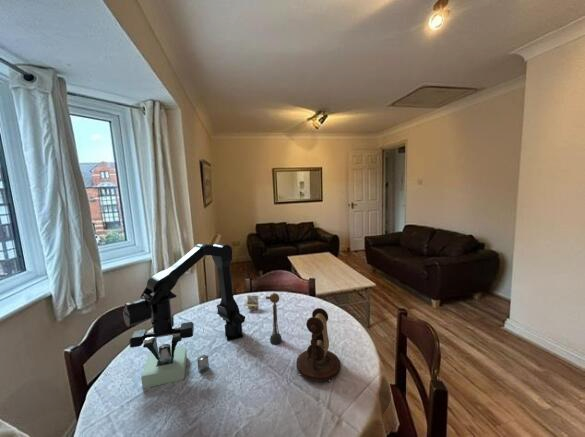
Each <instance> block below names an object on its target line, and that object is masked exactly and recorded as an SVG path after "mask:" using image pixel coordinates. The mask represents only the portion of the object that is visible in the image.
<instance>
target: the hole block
mask: <svg viewBox="0 0 585 437" xmlns="http://www.w3.org/2000/svg"><path fill="white" fill-rule="evenodd" d="M171 359H172V364H167V365H162V366H160V357H159V360H157V359H156V357H155V356H154V355H153V354H152V352H150V353H149V354H148V356H147V360H146V363H145V365H144V367H143V371H142V374H141V385H142V386H141V387H142V389H146V388H150V387H155V386H159V385H165V384H168V383H173V382H177V381H182V380H185V375H186V374H185V373H186V367H187V359H188V354H187V346H183V347H177V348H175V351H174V355H173V357H172V355H171Z"/></svg>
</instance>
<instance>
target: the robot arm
mask: <svg viewBox="0 0 585 437" xmlns="http://www.w3.org/2000/svg"><path fill="white" fill-rule="evenodd" d="M206 256H211V258H212V260H213V263H214V264H215V266H216V267H217V268H216V269H217V276H218V282H219V290H220V300H221V301H220V302H219V304H217V305H216V309H217V312H216V314H217V315H218V317H220V318H221V319H222V320H223V321H225V324H224V337H225V338H226V341H230V340H235V339H240V338H243V337H244V334H243V323H245V322H246V321H245V320H246V316H245V315H243V314H242V313H241V312H240V309H239V305H238V303H237V301H236V300H235V298H234V289H233V283H232V274H231V263H232V261H233V248H232V246H231V245H229V244H226V243H219V242H218V243H217V242H216V243H214V244H205V243H201V242H200V243H197V244H195V246H194V247H193V248H192V249H191V250H190V251H188V252H187V253H186V254H185V255H184V256H182V257H181V258H180V259H179V260H177V261H176V262H175V263H174V264H172V265H171V266H170V267H168V268H165V269H164V270H161V271H159V272H157V273H156V274H153V275H152V276H150V277H149V279H147V281H146V282H147V283H146V287H145V288H144V290H143V292H142V293H141V295H140V299H138V300H135V301H129V302H127V303H124V309H123V312H122V316H123V320H124V324H125V325H126V327H131V326H134V325H136V324H139V323H142V322H145V321H147V320H149V319H150V318H151V319H150V321H151V322H150V323H151V325H152V332H148V329H140V330H134V332H133V333H132V335H131V336H130V338H129V342H128V343H129V348H137V347H141V346H142V347H143V349H144V348H147V349H148V350H149V352H150V353H152V354H153V355H154V356H155V357H156V359H157V360H159V347H158V343H157V341H158V340H157V338H164V337H169V336H170V337H171V336H172V339H171V344H170V348H171V355H172V357H173V355H174V351H175V349H177V348H176V347H177V345H178V343H179V342H181V341H182V339H187V338H192V337H193V336H194V331H195V330H194V329H195V325H194V322H193V321H189V322H181V324H180V326H177V327H174V326H175V323H174V322H175V321H174V319H175V318H174V317H175V315H174V313H172V306H171V305H172V304H171V299H175V298H177V296H178V295H177V294H175V293H174V292H172V290H173V289H174V287H175V286H176V285H177V284H178V281H179V279H180V278H181V277H182V276H183V275H184V274H185V273H187V272H188V271H189V270H190V269H192V267H193V266H195V265H196V264H197V263H198V262H199V261H200V260H202V259H203V258H204V257H206ZM152 294H153V295H152ZM173 327H174V328H173Z"/></svg>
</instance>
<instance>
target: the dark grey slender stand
mask: <svg viewBox="0 0 585 437" xmlns="http://www.w3.org/2000/svg"><path fill="white" fill-rule="evenodd" d="M265 299H266V300H270V303H272V315H273V316H272V319H273V320H272V321H273V322H272V323H273V326H272V334H271V335H270V339H269V342H270V344H271V345H275V346H276V345H281V343H282V342H283V339H282V336H281V333H280V332H279V326H278V325H279V323H278V312H277V310H278V309H277V308H278V307H277V306H278V305H277V303H278V302H280V296H279V294H278V293H275V292H273V293H271V294H270V296H265Z"/></svg>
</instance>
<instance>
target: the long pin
mask: <svg viewBox="0 0 585 437" xmlns="http://www.w3.org/2000/svg"><path fill="white" fill-rule="evenodd" d="M158 351H159V357H160V366H162V365H167V364H172V359H171V343H163V344H161V345H159V347H158Z"/></svg>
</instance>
